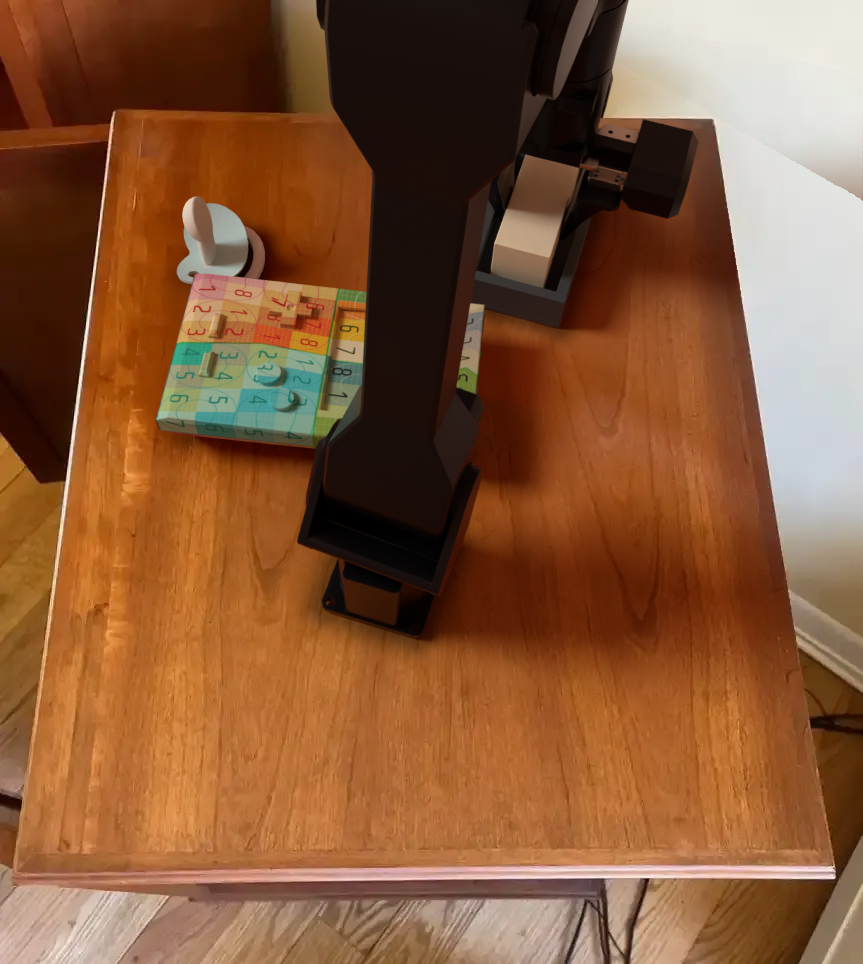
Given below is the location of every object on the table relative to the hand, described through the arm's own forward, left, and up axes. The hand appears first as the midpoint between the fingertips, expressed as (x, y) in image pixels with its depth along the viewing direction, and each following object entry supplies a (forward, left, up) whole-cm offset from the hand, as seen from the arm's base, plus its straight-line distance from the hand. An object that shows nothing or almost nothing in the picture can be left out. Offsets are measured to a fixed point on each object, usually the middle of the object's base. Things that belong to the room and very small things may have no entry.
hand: (534, 228), depth 75 cm
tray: (0, 0, -2) cm, 2 cm away
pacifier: (-9, +21, -2) cm, 23 cm away
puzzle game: (-17, +10, -2) cm, 20 cm away
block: (-5, 0, +1) cm, 5 cm away
